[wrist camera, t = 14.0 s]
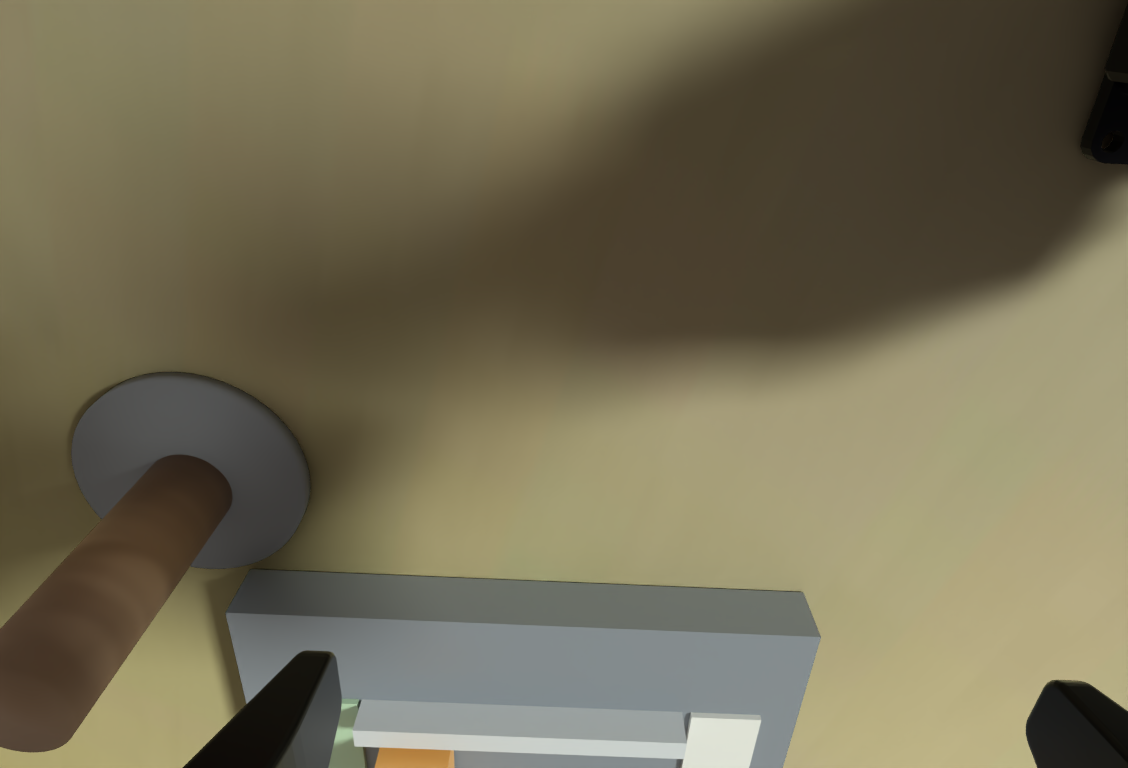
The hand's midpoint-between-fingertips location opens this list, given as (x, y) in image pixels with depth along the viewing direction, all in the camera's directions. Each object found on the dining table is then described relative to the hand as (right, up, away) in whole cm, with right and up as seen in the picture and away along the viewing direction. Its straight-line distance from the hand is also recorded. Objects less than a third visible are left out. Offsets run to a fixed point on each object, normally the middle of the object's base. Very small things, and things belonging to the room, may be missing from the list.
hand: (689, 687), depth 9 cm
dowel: (-13, +1, +13) cm, 19 cm away
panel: (-3, -9, +19) cm, 21 cm away
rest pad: (-13, +1, +14) cm, 19 cm away
